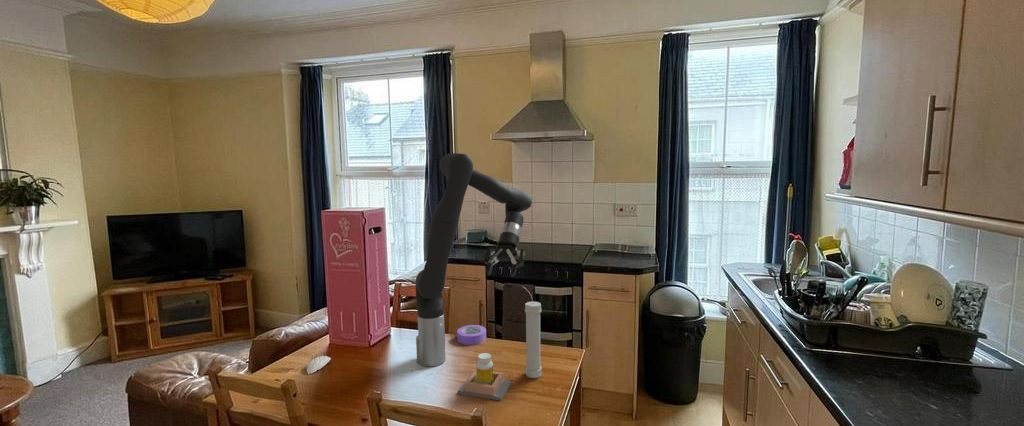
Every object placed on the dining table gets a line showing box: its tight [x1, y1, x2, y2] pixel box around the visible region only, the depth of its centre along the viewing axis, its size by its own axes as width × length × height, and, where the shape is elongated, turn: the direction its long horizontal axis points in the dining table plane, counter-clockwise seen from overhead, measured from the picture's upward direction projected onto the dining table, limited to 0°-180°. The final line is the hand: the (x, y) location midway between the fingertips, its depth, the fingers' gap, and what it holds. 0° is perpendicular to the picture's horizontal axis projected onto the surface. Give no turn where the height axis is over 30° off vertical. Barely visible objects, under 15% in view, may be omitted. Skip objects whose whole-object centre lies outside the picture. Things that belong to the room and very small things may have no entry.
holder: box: [457, 369, 512, 402], centre depth 127 cm, size 14×10×4 cm
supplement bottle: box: [475, 352, 494, 385], centre depth 127 cm, size 5×5×10 cm
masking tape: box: [456, 324, 487, 346], centre depth 165 cm, size 12×12×4 cm
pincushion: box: [306, 351, 332, 374], centre depth 143 cm, size 12×6×6 cm, turn 175°
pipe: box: [522, 286, 543, 379], centre depth 134 cm, size 6×6×30 cm
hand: (500, 274), depth 142 cm, fingers open, 8 cm apart
